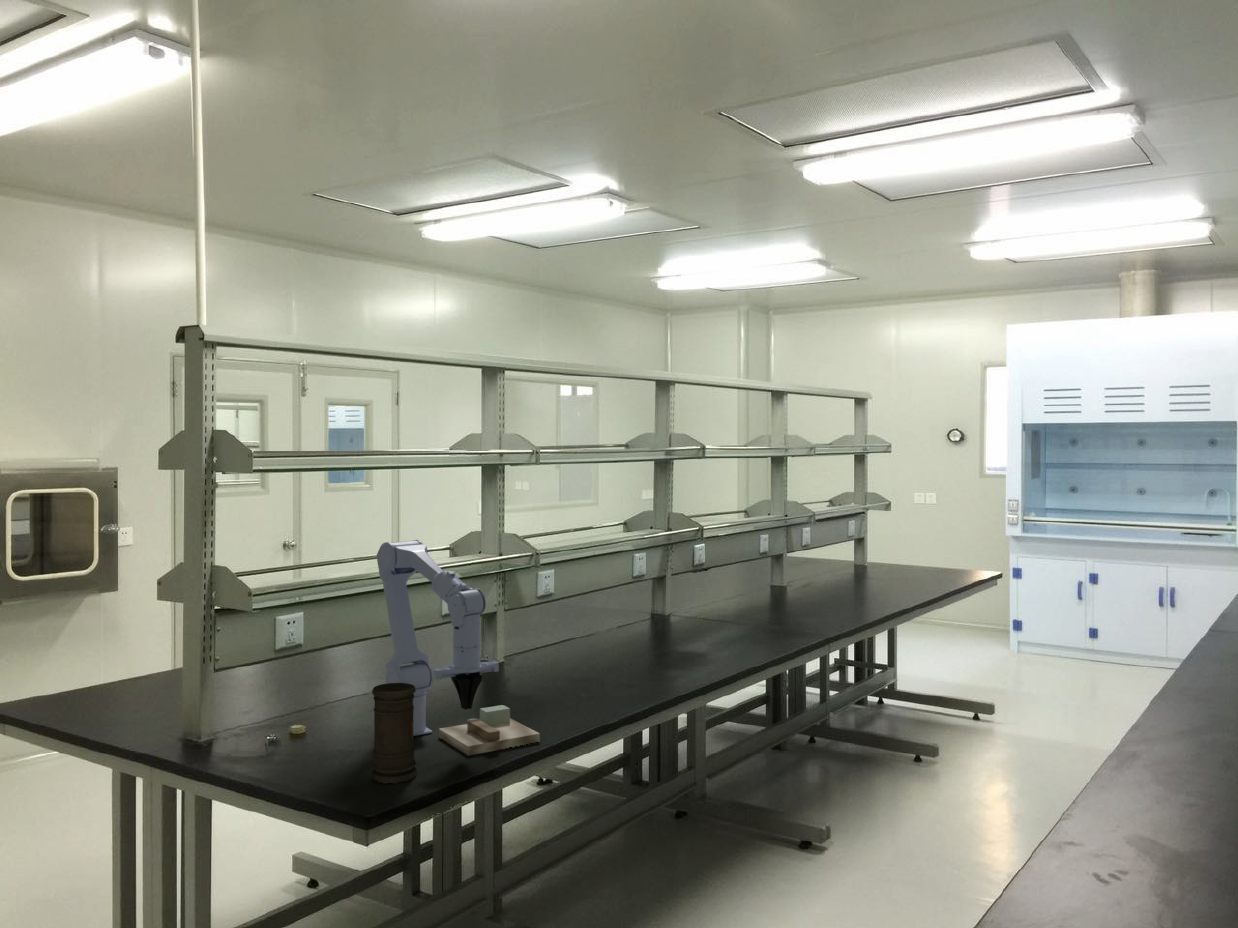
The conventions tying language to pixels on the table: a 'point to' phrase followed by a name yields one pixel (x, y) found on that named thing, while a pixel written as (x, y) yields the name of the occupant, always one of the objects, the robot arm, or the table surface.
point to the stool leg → (483, 730)
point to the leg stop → (495, 715)
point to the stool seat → (474, 744)
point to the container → (393, 733)
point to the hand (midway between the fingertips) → (466, 707)
